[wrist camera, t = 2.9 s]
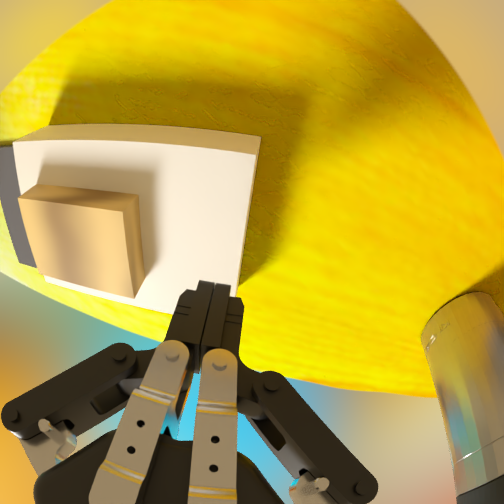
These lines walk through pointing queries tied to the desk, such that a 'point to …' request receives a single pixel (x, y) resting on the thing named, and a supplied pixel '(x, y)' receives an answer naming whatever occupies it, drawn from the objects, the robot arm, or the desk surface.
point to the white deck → (157, 196)
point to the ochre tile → (85, 237)
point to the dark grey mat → (13, 206)
